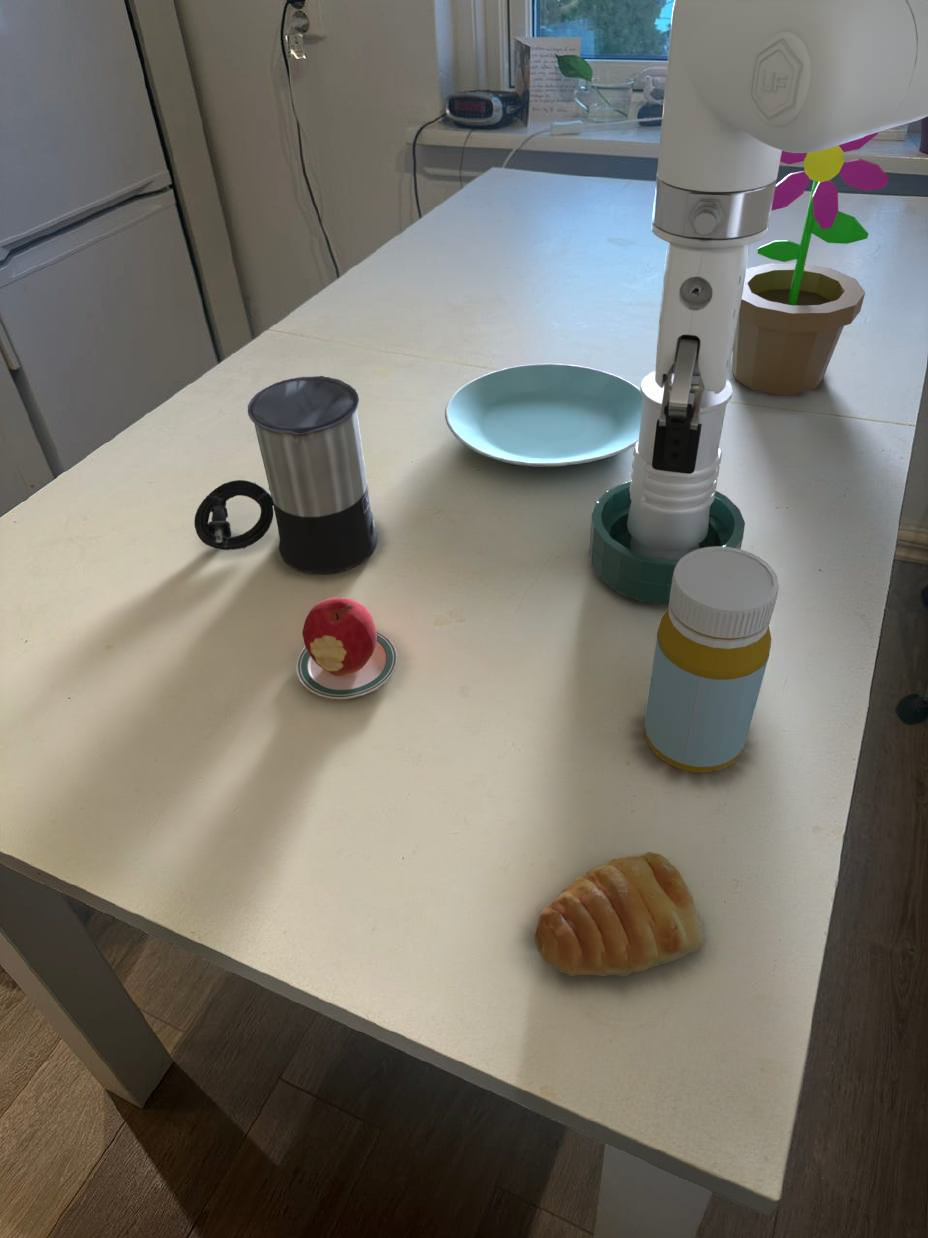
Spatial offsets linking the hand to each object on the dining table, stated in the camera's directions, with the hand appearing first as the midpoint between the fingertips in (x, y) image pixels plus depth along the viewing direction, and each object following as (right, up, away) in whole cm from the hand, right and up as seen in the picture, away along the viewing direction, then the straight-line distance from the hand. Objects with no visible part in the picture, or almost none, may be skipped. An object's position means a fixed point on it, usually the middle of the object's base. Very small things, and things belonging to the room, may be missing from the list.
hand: (678, 444), depth 69 cm
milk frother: (-34, -7, +13) cm, 37 cm away
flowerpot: (+20, +15, +34) cm, 42 cm away
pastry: (-8, -32, -17) cm, 37 cm away
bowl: (0, -9, +8) cm, 12 cm away
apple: (-26, -18, +1) cm, 32 cm away
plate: (-8, +6, +26) cm, 28 cm away
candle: (0, -8, +7) cm, 10 cm away
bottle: (-1, -23, -6) cm, 23 cm away
